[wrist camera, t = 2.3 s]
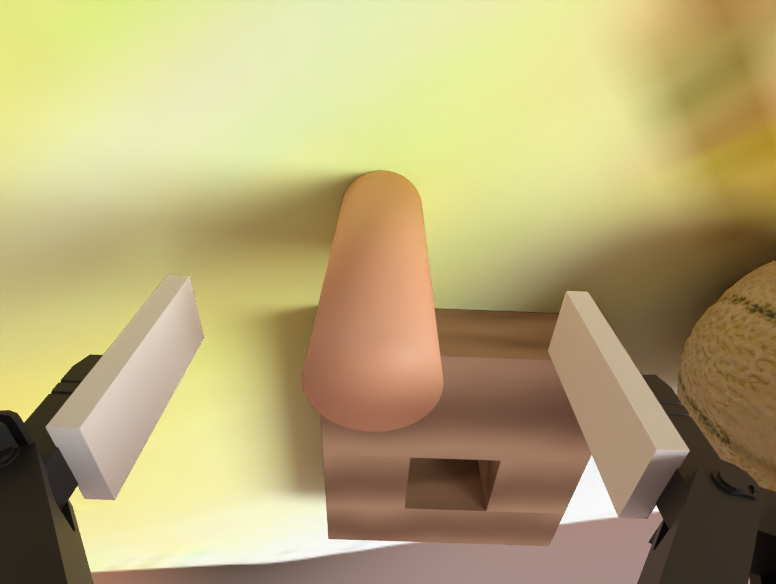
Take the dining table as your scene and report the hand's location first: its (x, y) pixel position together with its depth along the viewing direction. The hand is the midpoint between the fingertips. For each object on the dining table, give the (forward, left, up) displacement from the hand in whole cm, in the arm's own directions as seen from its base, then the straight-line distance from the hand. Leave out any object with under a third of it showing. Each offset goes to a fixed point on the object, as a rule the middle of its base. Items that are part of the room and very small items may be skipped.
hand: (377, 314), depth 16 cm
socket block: (+15, +5, -8) cm, 17 cm away
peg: (0, 0, -8) cm, 8 cm away
